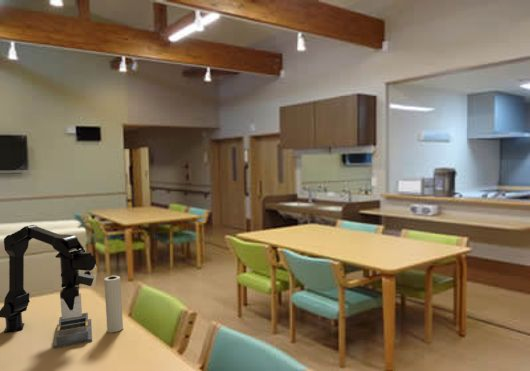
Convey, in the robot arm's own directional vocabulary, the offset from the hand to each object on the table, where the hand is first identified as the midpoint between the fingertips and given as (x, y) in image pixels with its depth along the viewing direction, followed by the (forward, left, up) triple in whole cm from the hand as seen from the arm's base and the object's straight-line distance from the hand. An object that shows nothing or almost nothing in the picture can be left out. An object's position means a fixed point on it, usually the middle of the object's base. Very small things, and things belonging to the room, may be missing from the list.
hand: (71, 308), depth 157 cm
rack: (-2, 0, -11) cm, 11 cm away
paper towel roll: (+1, +16, -11) cm, 19 cm away
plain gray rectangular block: (0, 0, -3) cm, 3 cm away
